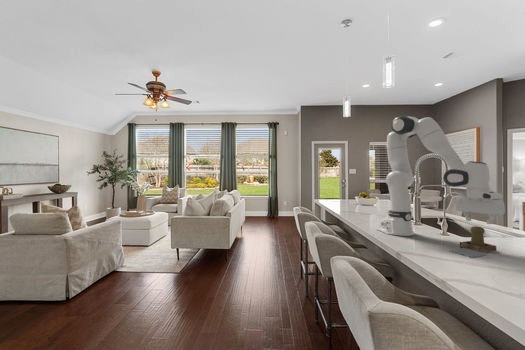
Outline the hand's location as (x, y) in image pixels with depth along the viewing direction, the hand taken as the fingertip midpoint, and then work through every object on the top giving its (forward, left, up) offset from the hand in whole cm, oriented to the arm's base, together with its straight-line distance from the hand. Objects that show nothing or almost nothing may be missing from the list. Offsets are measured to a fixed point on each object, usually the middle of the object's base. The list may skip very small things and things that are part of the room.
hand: (478, 222), depth 126 cm
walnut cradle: (0, 0, -13) cm, 13 cm away
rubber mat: (+3, -11, -13) cm, 18 cm away
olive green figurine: (0, 0, -14) cm, 14 cm away
